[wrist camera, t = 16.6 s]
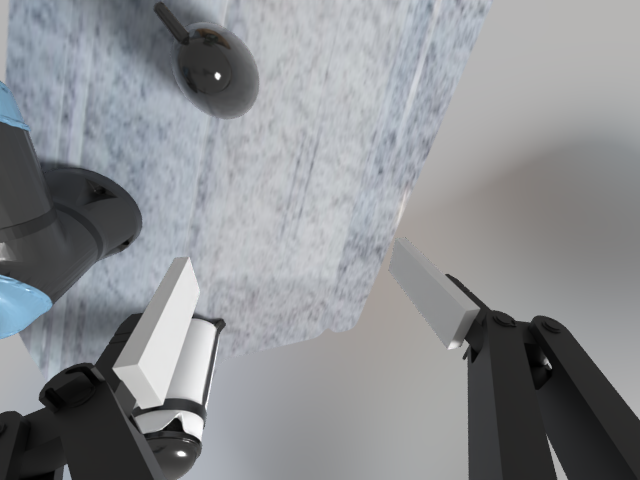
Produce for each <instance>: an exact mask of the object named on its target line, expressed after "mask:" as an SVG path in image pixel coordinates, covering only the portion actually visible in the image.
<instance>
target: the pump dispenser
mask: <svg viewBox="0 0 640 480" xmlns="http://www.w3.org/2000/svg"><path fill="white" fill-rule="evenodd" d="M153 10H154V12H155V13H156V14H157V16H158V17H159V18H160V20H161V21H162V22H163V24H164V25H165V26H166V28H167V29H168V30H169V32H170V33H171V34H172V36H173V37H174V41H173V43H172V47H171V54H170V60H171V67H172V71H173V75H174V77H175V80H176V82H177V84H178V86H179V88H180V89H181V91H182V92H183V94H184V95H185V96H186V98H187V99H188V100H189V101H190V102H191V103H192V104H193V105H194V106H195V107H197V108H198V109H199V110H201V111H202V112H204V113H206V114H208V115H210V116H212V117H215V118H219V119H234V118H238V117H240V116H242V115H244V114H245V113H247V112H248V111H249V110H250V109H251V108H252V106H253V105H254V103H255V101H256V99H257V96H258V92H259V73H258V69H257V65H256V63H255V60H254V58H253V56H252V54H251V52H250V51H249V49H248V48H247V46H246V45H245V44H244V43H243V41H242V40H241V39H240V38H239V37H237V36H236V35H235V34H234V33H232V32H231V31H229V30H228V29H226V28H224V27H222V26H220V25H217V24H214V23H210V22H196V23H192V24H189V25H187V26H185V27H183V26H182V24H181V23H180V22H179V21H178V20H177V19H176V17H175V16H174V15H173V14H172V13H171V12H170V10H169V9H168V8H167V7H166V6H165V5H164V3H163V2H160V1H159V2H157V3H156V4H155V5H154V7H153Z"/></svg>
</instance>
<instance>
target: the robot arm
mask: <svg viewBox="0 0 640 480" xmlns="http://www.w3.org/2000/svg"><path fill="white" fill-rule="evenodd" d="M28 131H31V130H30V127H29V126H28V125H26V124H25V123H24V120H23V118H22V116H21V113H20V111H19V109H18V106H17V104H16V101H15V99H14V96H13V94H12V93H11V91H10V90H9V88H8V87H7V86H6V85H5V84H4V83H2V82H1V81H0V339H3V338H6V337H9V336H11V335H14V334H16V333H18V332H20V331H21V330H23V329H24V328H26V327H27V326H28V325H29V324H31V323H32V322H33V321H34V320H35V319H36V318H38V317H39V316H40V315H41V314H44V313H45V312H47V311H48V310H49V309H50V308H51V307H52V305H53V304H54V303H55V302H56V301H57V300H58V299H59V298H60V297H61V296H62V295H63V294H64V293H65V292H66V291H67V290H68V289H69V288H70V287H71V286H72V285H73V284H74V283H75V282H76V281H77V280H78V279H79V278H80V277H81V276H82V275H83V274H84V273H85V272H86V271H87V270H88V269H89V268H90V267H91V266H92V265H93V264H94V263H96V262H97V261H99V260H102V259H104V258H107V257H109V256H112V255H114V254H117V253H119V252H121V251H123V250H124V249H126V248H127V247H129V246H130V245H131V244H132V243H133V242H134V240H135V239H136V238H137V237H138V235H139V234H140V231H141V228H142V216H141V213H140V210H139V208H138V206H137V204H136V202H135V201H134V200H133V198H132V197H131V196H130V195H129V194H128V193H127V192H126V191H125V190H124V189H123V188H122V187H120V186H119V185H118V184H116V183H115V182H113V181H112V180H110V179H108V178H106V177H104V176H102V175H100V174H97V173H94V172H91V171H87V170H83V169H76V168H61V169H55V170H51V171H48V172H45V173H43V171H42V168H41V166H40V163H39V160H38V157H37V154H36V152H35V149H34V146H33V143H32V140H31V137H30V135H29V132H28ZM389 271H390V273H391V274H392V275H393V277H394V278H395V280H396V281H397V282H398V283H399V285H400V286H401V288H402V289H403V290H404V292H405V293H406V294H407V296H408V297H409V298H410V300H411V301H412V302H413V304H414V305H415V306H416V308H417V309H418V310H419V312H420V313H421V314H422V316H423V317H424V318H425V320H426V321H427V322H428V324H429V325H430V326H431V328H432V329H433V331H434V332H435V333H436V335H437V336H438V337H439V338H440V340H441V341H442V342H443V344H444V345H445V347H446V348H447V349H452V348H457V347H461V345H462V343H463V341H464V339H465V340H466V341H467V342H468V343H469V344H470V345H469V347H468V348H467V350H466V352H465V354H464V356H463V359H464V360H465V359H466V357H467V356H468V452H469V453H468V454H469V480H557V477H556V472H555V468H554V464H553V460H552V456H551V452H550V448H549V444H548V440H547V436H548V438H549V440H550V443H551V445H552V447H553V449H554V451H555V453H556V455H557V457H558V459H559V462H560V463H561V466H562V468H563V470H564V472H565V473H566V476H567V478H568V480H640V420H639V419H638V417H637V416H636V415H635V414H634V412H633V411H632V410H631V409H630V407H629V406H628V405H627V404H626V403H625V401H624V400H623V399H622V397H621V396H620V395H619V393H617V391H616V390H615V388H614V387H613V386H612V385H611V383H610V382H609V381H608V380H607V378H606V377H605V376H604V375H603V373H602V372H601V371H600V370H599V368H598V367H597V366H596V364H595V363H594V362H593V361H592V359H591V358H590V357H589V356H588V354H587V353H586V352H585V351H584V349H583V348H582V347H581V346H580V344H579V343H578V342H577V340H576V339H575V338H574V337H573V335H572V334H571V333H570V332H569V330H568V329H567V328H566V327H564V326H563V325H562V324H561V323H559V322H558V321H556V320H554V319H552V318H549V317H545V316H536V317H534V318H533V319H532V321H531V322H530V323H529V322H521V321H515V320H514V319H513V318H512V317H510V316H509V315H507V314H505V313H503V312H500V311H495V310H493V311H492V310H490V309H489V308H488V307H487V306H486V305H485V304H484V303H483V302H482V301H481V300H479V299H478V298H477V297H476V296H475V295H474V294H473V293H472V292H470V291H469V290H468V289H467V288H466V287H464V285H463V284H462V283H461V282H460V281H459V280H458V279H456V278H454V277H452V276H450V275H449V274H445V275H444V274H443V273H442V272H441V271H440V270H439V269H438V268H437V267H436V266H435V265H434V264H433V263H432V262H431V261H430V260H429V259H427V258H426V257H425V256H424V255H423V254H422V253H421V252H420V251H419V250H418V249H417V248H416V247H415V246H414V245H413V244H412V243H411V242H410V241H409V240H408V239H407V238H396V239H395V243H394V248H393V253H392V257H391V262H390V267H389ZM199 294H200V290H199V287H198V283H197V280H196V277H195V274H194V270H193V267H192V264H191V261H190V258H189V257H180V258H175V259H174V260H173V262H172V264H171V266H170V267H169V269H168V271H167V273H166V274H165V276H164V278H163V280H162V281H161V283H160V285H159V287H158V289H157V290H156V292H155V294H154V296H153V297H152V299H151V301H150V303H149V304H148V306H147V308H146V310H145V311H144V313H139V314H132V315H131V316H130V317H128V318H127V319H126V320H125V321H124V322H123V323H122V324H121V325H120V327H119V328H118V330H117V331H116V333H115V336H113V337H112V339H111V341H110V342H109V345H107V347H106V348H105V350H104V352H103V353H102V355H101V356H100V358H99V359H98V361H97V362H96V364H95V366H94V365H93V364H91V363H80V364H76V365H73V366H71V367H69V368H67V369H64V370H63V371H61V372H60V373H58V374H57V375H55V376H54V377H53V378H52V379H51V380H50V381H49V382H48V383H46V384H45V386H44V388H43V389H42V390H41V392H40V394H39V401H40V402H41V403H42V404H43V405H45V406H46V407H45V408H43V409H40V410H38V411H36V412H33V413H31V414H28V415H26V416H22V415H21V414H19V413H18V412H16V411H7V412H3V413H1V414H0V480H62V479H63V469H64V465H66V464H68V467H69V471H70V474H71V478H72V480H167V479H166V477H165V475H164V473H163V472H162V470H161V468H160V466H159V464H158V462H157V460H156V458H155V456H154V454H153V452H152V450H151V448H150V447H149V445H148V443H147V441H146V439H145V437H144V435H143V433H142V431H141V429H140V427H139V425H138V423H137V422H136V420H135V418H134V416H133V415H132V411H133V408H134V406H135V404H136V402H137V404H138V405H139V406H140V408H141V409H145V408H150V407H155V406H161V405H163V403H164V400H165V397H166V394H167V391H168V388H169V385H170V382H171V379H172V376H173V373H174V370H175V367H176V364H177V361H178V358H179V355H180V352H181V349H182V346H183V343H184V340H185V337H186V334H187V331H188V328H189V325H190V322H191V319H192V316H193V313H194V309H195V306H196V303H197V300H198V297H199ZM548 362H549V363H550V364H551V366H552V369H551V368H550V367H549V366H548V364H547V363H548ZM546 434H547V436H546Z"/></svg>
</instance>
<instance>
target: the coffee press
mask: <svg viewBox="0 0 640 480" xmlns="http://www.w3.org/2000/svg"><path fill="white" fill-rule="evenodd" d="M225 325H226V323H225V322H224V320H223V319H222V320H219V321H218V322H217V323H216V324H215V325H213V324H211V323H210V322H207V321H205V320H201V319H191V322H190V325H189V328H188V331H187V334H186V337H185V340H184V343H183V346H182V349H181V352H180V355H179V358H178V361H177V364H176V367H175V370H174V373H173V376H172V379H171V382H170V385H169V388H168V391H167V394H166V397H165V400H164V403H163V405H161V406H155V407H150V408H145V409H141V408H140V406H139V405H138V404H137V402H136V404H135V406H134V408H133V411H132V415H133V416H134V418H135V420H136V422H137V423H138V425H139V427H140V429H141V431H142V433H143V435H144V437H145V439H146V441H147V443H148V445H149V447H150V448H151V450H152V452H153V454H154V456H155V458H156V460H157V462H158V464H159V466H160V468H161V470H162V472H163V473H164V475H165V477H166V479H167V480H177V479H178V478H180V477H182V476H183V475H184V474H186V473H187V472H188V471H189V470H190V469H191V468H192V466H193V465H194V463H195V461H196V459H197V458H198V457H199V456H200V454H201V449H202V442H201V436H202V431H203V429H204V427H205V422H206V416H207V412H206V409H207V404H208V398H209V393H210V387H211V382H212V376H213V371H214V366H215V360H216V355H217V349H218V344H219V334H220V332H221V330H222V329H223V328H224V327H225ZM218 327H219V328H218ZM217 328H218V329H217Z"/></svg>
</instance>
